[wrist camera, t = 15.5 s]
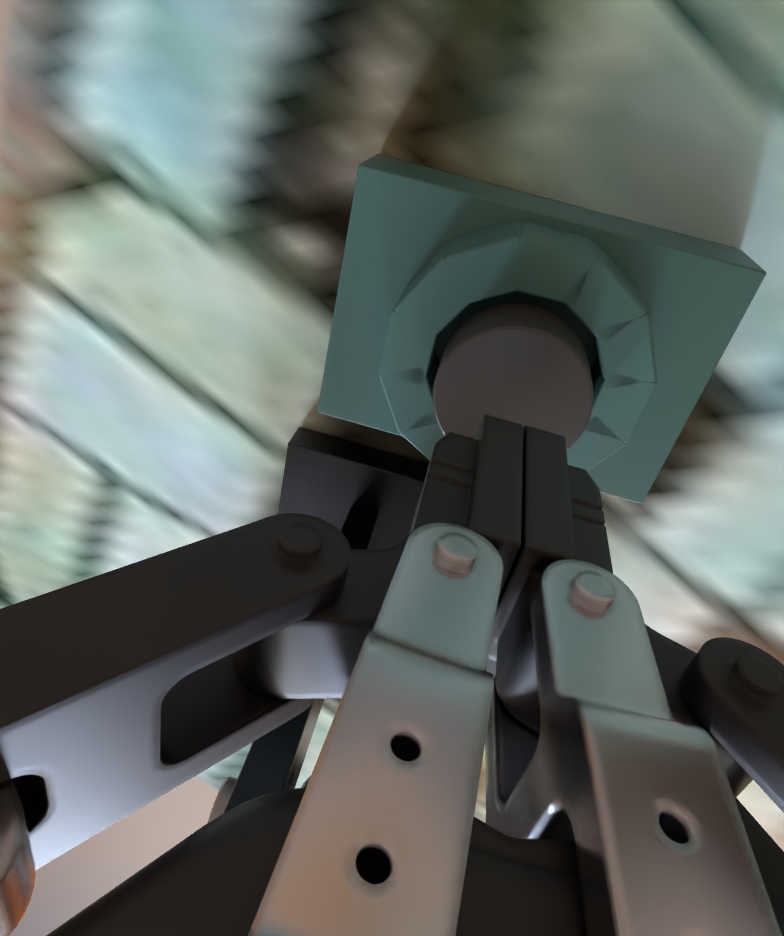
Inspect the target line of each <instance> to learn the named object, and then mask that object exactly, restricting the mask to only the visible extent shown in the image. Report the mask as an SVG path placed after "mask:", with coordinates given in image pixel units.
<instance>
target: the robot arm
mask: <svg viewBox="0 0 784 936" xmlns="http://www.w3.org/2000/svg"><path fill="white" fill-rule="evenodd" d="M601 510H602V502H601V495H600V489H599V488H598V486H597V485H596V483H595V482H594V481H593V479H592V478H591V477H590V475H589V474H588V472H587V471H586V470H585V469H581V468H578V467H574V466H570V465H568V462H567V451H566V440H565V437H564V436H562V435H558V434H555V433H551V432H547V431H544V430H540V429H537V428H533V427H529V426H524V428H523V425H522V424H518V423H515V422H511V421H507V420H504V419H500V418H497V417H493V416H489V415H486V414H484V416H483V418H482V420H481V423H480V426H479V428H478V431H477V434H476V437H475V439H474V438H470V437H467V436H463V435H459V434H456V433H452V432H449V433H448V434H447V435H445V436H444V437H443V438H441V439H440V440H439V441H437V442H436V443H435V446H434V449H433V453H432V456H431V460H430V463H429V466H428V470H427V473H426V476H425V480H424V483H423V487H422V490H421V493H420V497H419V500H418V503H417V507H416V511H415V514H414V518H413V522H412V526H411V530H410V534H409V537H407V538H406V539H405V540H404V541H402V542H401V543H399V544H397V545H395V546H392V547H388V548H384V549H377V550H361V549H351V548H350V545H349V542H348V541H347V539H346V537H345V536H344V535H343V533H342V532H341V531H340V530H339V529H337V528H336V527H335V526H334V525H332V524H330V523H329V522H327V521H325V520H323V519H320V518H317V517H314V516H311V515H306V514H298V513H285V514H278V515H274V516H270V517H267V518H264V519H262V520H259V521H256V522H253V523H250V524H247V525H244V526H241V527H238V528H235V529H232V530H229V531H227V532H224V533H221V534H218V535H215V536H212V537H209V538H206V539H203V540H200V541H197V542H194V543H192V544H189V545H186V546H183V547H180V548H177V549H174V550H171V551H168V552H165V553H162V554H159V555H157V556H154V557H151V558H148V559H145V560H142V561H139V562H136V563H133V564H130V565H127V566H124V567H122V568H119V569H116V570H113V571H110V572H107V573H104V574H101V575H98V576H95V577H92V578H89V579H87V580H84V581H81V582H78V583H75V584H72V585H69V586H66V587H63V588H60V589H57V590H54V591H52V592H49V593H46V594H43V595H40V596H37V597H34V598H31V599H28V600H25V601H22V602H19V603H17V604H14V605H11V606H8V607H5V608H2V609H0V936H9V935H10V934H11V933H12V931H13V930H14V929H15V928H16V926H17V925H18V923H19V921H20V920H21V918H22V916H23V915H24V913H25V911H26V909H27V906H28V904H29V902H30V899H31V896H32V892H33V888H34V882H35V870H36V869H38V868H40V867H41V866H43V865H45V864H47V863H48V862H50V861H52V860H53V859H55V858H57V857H59V856H60V855H62V854H64V853H65V852H67V851H69V850H70V849H72V848H74V847H75V846H77V845H79V844H81V843H82V842H84V841H86V840H87V839H89V838H91V837H92V836H94V835H96V834H97V833H99V832H101V831H103V830H104V829H106V828H108V827H109V826H111V825H113V824H114V823H116V822H117V821H119V820H121V819H123V818H125V817H126V816H128V815H130V814H131V813H133V812H135V811H136V810H138V809H139V808H141V807H143V806H145V805H146V804H148V803H150V802H152V801H153V800H155V799H157V798H158V797H160V796H162V795H164V794H165V793H167V792H168V791H170V790H172V789H174V788H175V787H177V786H179V785H180V784H182V783H184V782H186V781H187V780H189V779H191V778H192V777H194V776H196V775H197V774H199V773H201V772H203V771H204V770H206V769H208V768H209V767H211V766H213V765H214V764H216V763H218V762H219V761H221V760H223V759H225V758H226V757H228V756H230V755H231V754H233V753H235V752H236V751H238V750H240V749H241V748H243V747H245V746H247V745H248V744H250V743H252V742H253V741H255V740H257V739H258V738H260V737H262V736H263V735H265V734H267V733H269V732H270V731H272V730H274V729H275V728H277V727H279V726H280V725H282V724H284V723H286V722H287V721H289V720H291V719H292V718H294V717H296V716H297V715H299V714H301V713H302V712H304V711H305V710H306V709H308V708H309V707H310V706H311V705H312V704H313V702H314V701H315V699H316V698H342V699H341V702H340V704H339V707H338V709H337V712H336V714H335V717H334V719H333V722H332V724H331V727H330V729H329V732H328V734H327V737H326V740H325V742H324V745H323V747H322V750H321V752H320V755H319V757H318V760H317V762H316V765H315V767H314V770H313V772H312V775H311V777H310V780H309V783H308V785H307V787H306V788H297V789H287V790H283V791H279V792H275V793H270V794H266V795H263V796H260V797H258V798H255V799H252V800H250V801H247V802H244V803H242V804H240V805H238V806H236V807H234V808H232V809H231V810H229V811H227V812H225V813H223V814H221V815H220V816H218V817H217V818H215V819H213V820H212V821H210V822H209V823H207V824H206V825H204V826H203V827H202V828H200V829H199V830H197V831H196V832H194V833H193V834H192V835H190V836H189V837H187V838H186V839H184V840H183V841H181V842H180V843H179V844H177V845H176V846H174V847H173V848H172V849H170V850H169V851H167V852H166V853H164V854H163V855H161V856H160V857H159V858H157V859H156V860H154V861H153V862H151V863H150V864H149V865H147V866H146V867H144V868H143V869H141V870H140V871H138V872H137V873H136V874H134V875H133V876H131V877H130V878H128V879H127V880H125V881H124V882H123V883H121V884H120V885H118V886H117V887H115V888H114V889H113V890H111V891H110V892H109V893H107V894H106V895H104V896H103V897H101V898H100V899H98V900H97V901H96V902H94V903H93V904H91V905H90V906H88V907H87V908H85V909H84V910H82V911H81V912H80V913H78V914H77V915H75V916H74V917H73V918H71V919H70V920H68V921H67V922H65V923H64V924H62V925H61V926H60V927H58V928H57V929H55V930H54V931H52V932H51V933H49V934H48V935H47V936H784V852H783V851H782V849H781V848H780V847H779V846H778V845H777V844H776V843H775V841H774V840H773V839H772V838H771V837H770V836H769V835H768V833H767V832H766V831H765V830H764V829H763V828H762V827H761V825H760V824H759V823H758V822H757V821H756V820H755V819H754V818H753V816H752V815H751V814H750V813H749V812H748V811H747V810H746V808H745V807H744V806H743V805H742V804H741V803H740V802H739V800H738V799H737V798H736V797H737V796H738V795H739V794H740V793H741V792H742V791H743V790H744V789H745V787H746V786H747V785H748V784H749V783H750V782H751V781H752V780H754V781H755V782H756V783H757V784H758V785H759V786H760V787H761V788H762V790H763V791H764V792H765V793H766V794H767V795H768V796H769V797H770V798H771V799H772V800H773V802H774V803H775V804H776V805H777V806H778V807H779V808H780V809H781V810H782V811H783V812H784V665H783V664H781V663H780V662H779V661H778V660H777V659H775V658H774V657H772V656H771V655H770V654H768V653H766V652H765V651H763V650H761V649H760V648H758V647H756V646H753V645H751V644H749V643H746V642H744V641H741V640H737V639H733V638H725V637H723V638H714V639H711V640H709V641H707V642H706V643H705V644H704V645H703V646H702V647H701V648H700V650H699V651H698V653H695V652H693V651H691V650H689V649H688V648H686V647H684V646H682V645H680V644H678V643H676V642H674V641H672V640H671V639H669V638H667V637H665V636H663V635H661V634H660V633H658V632H656V631H654V630H653V629H651V628H650V627H648V626H647V625H646V624H645V623H644V620H643V616H642V613H641V609H640V606H639V603H638V601H637V599H636V597H635V596H634V594H633V592H632V591H631V590H630V589H629V587H628V586H627V585H626V584H625V583H624V582H623V581H621V580H620V579H619V578H618V577H616V576H615V575H614V574H613V570H612V564H611V558H610V552H609V545H608V539H607V533H606V527H605V526H604V523H605V520H604V514H603V511H601ZM488 659H491V660H495V661H496V675H495V677H494V676H493V674H492V673H489V672H486V669H487V663H488ZM484 746H485V762H486V823H484V822H482V821H480V820H479V819H477V818H475V817H474V811H475V805H476V798H477V792H478V785H479V779H480V772H481V766H482V759H483V753H484Z"/></svg>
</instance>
